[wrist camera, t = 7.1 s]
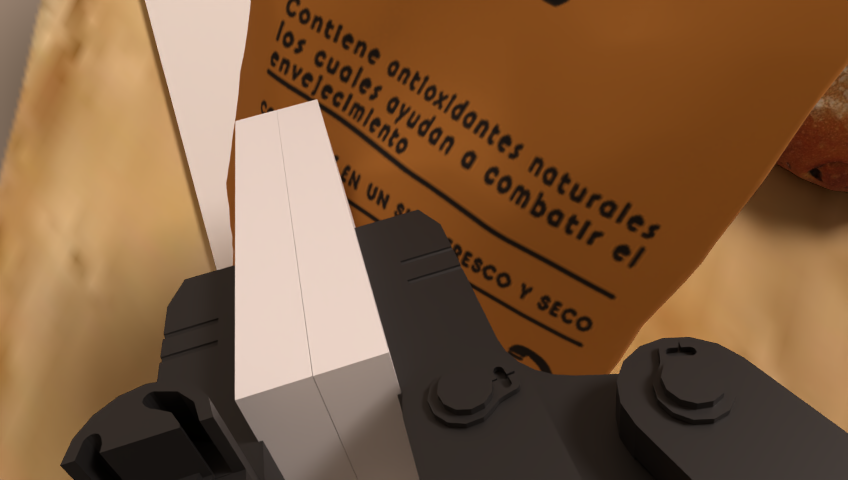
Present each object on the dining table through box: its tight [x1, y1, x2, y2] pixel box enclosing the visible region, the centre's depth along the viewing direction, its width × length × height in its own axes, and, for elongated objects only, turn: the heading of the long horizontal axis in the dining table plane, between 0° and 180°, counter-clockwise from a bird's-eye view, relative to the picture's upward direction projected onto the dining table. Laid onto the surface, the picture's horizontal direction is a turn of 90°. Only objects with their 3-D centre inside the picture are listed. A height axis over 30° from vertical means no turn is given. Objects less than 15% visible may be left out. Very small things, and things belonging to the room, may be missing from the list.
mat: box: [145, 0, 251, 270], centre depth 27 cm, size 17×14×1 cm
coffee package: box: [226, 0, 848, 375], centre depth 15 cm, size 10×12×22 cm
